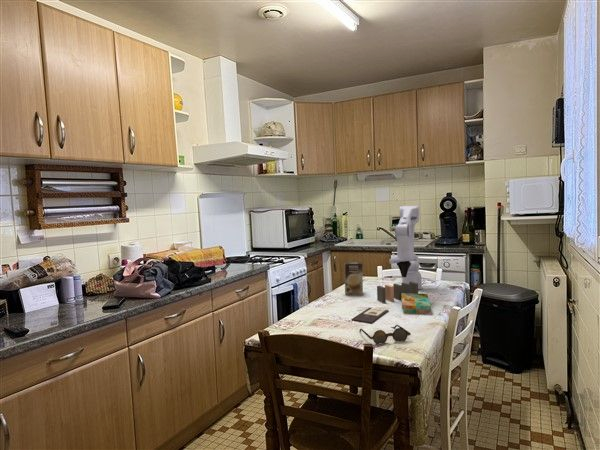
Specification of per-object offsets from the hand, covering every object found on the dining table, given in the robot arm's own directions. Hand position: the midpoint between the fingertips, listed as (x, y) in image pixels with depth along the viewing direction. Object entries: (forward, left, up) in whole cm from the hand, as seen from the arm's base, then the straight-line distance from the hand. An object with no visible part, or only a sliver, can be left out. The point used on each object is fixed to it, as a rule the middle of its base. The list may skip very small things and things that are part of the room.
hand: (403, 276), depth 189 cm
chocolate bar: (+28, +17, -11) cm, 35 cm away
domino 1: (+13, 0, -10) cm, 16 cm away
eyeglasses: (+35, +39, -11) cm, 53 cm away
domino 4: (-1, 0, -10) cm, 10 cm away
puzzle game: (+4, +15, -11) cm, 19 cm away
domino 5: (-5, 0, -10) cm, 12 cm away
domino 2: (+8, 0, -10) cm, 13 cm away
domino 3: (+4, 0, -10) cm, 11 cm away
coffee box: (+18, -19, -11) cm, 28 cm away
